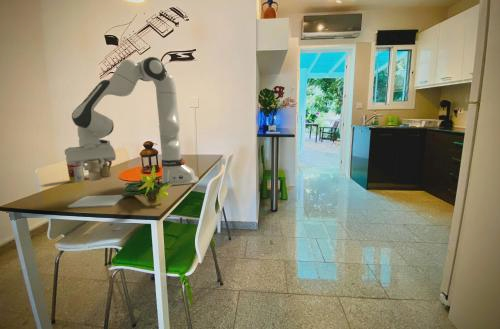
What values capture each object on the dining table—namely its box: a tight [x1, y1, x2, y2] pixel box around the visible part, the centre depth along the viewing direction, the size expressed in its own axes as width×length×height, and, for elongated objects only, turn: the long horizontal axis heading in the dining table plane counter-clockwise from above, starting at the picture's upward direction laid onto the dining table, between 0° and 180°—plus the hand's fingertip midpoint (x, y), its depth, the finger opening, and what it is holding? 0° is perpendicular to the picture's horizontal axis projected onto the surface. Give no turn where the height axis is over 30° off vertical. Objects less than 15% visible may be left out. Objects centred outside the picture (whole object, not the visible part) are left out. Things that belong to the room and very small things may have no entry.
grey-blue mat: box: [67, 194, 126, 208], centre depth 119 cm, size 20×14×1 cm
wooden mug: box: [99, 161, 113, 179], centre depth 168 cm, size 9×14×18 cm, turn 143°
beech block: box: [86, 160, 102, 182], centre depth 117 cm, size 4×4×9 cm
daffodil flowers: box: [121, 164, 173, 204], centre depth 116 cm, size 17×15×35 cm
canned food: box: [66, 163, 85, 183], centre depth 157 cm, size 8×8×12 cm
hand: (93, 168), depth 116 cm, fingers closed on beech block, 4 cm apart
